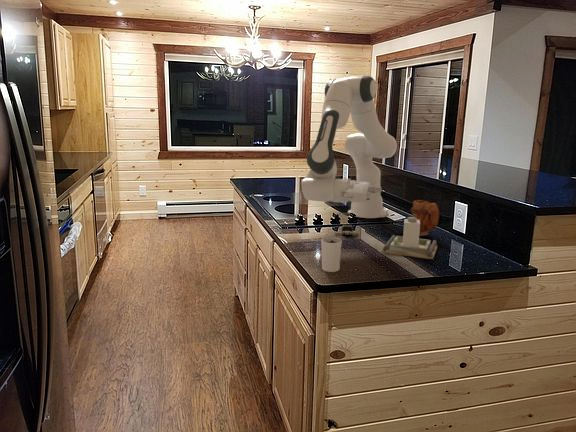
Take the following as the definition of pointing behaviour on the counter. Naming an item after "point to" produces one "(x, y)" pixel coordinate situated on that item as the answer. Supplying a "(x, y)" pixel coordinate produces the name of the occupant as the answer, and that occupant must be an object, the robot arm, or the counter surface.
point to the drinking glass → (331, 253)
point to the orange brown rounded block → (425, 215)
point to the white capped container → (411, 232)
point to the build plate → (347, 228)
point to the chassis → (411, 248)
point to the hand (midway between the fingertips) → (380, 192)
